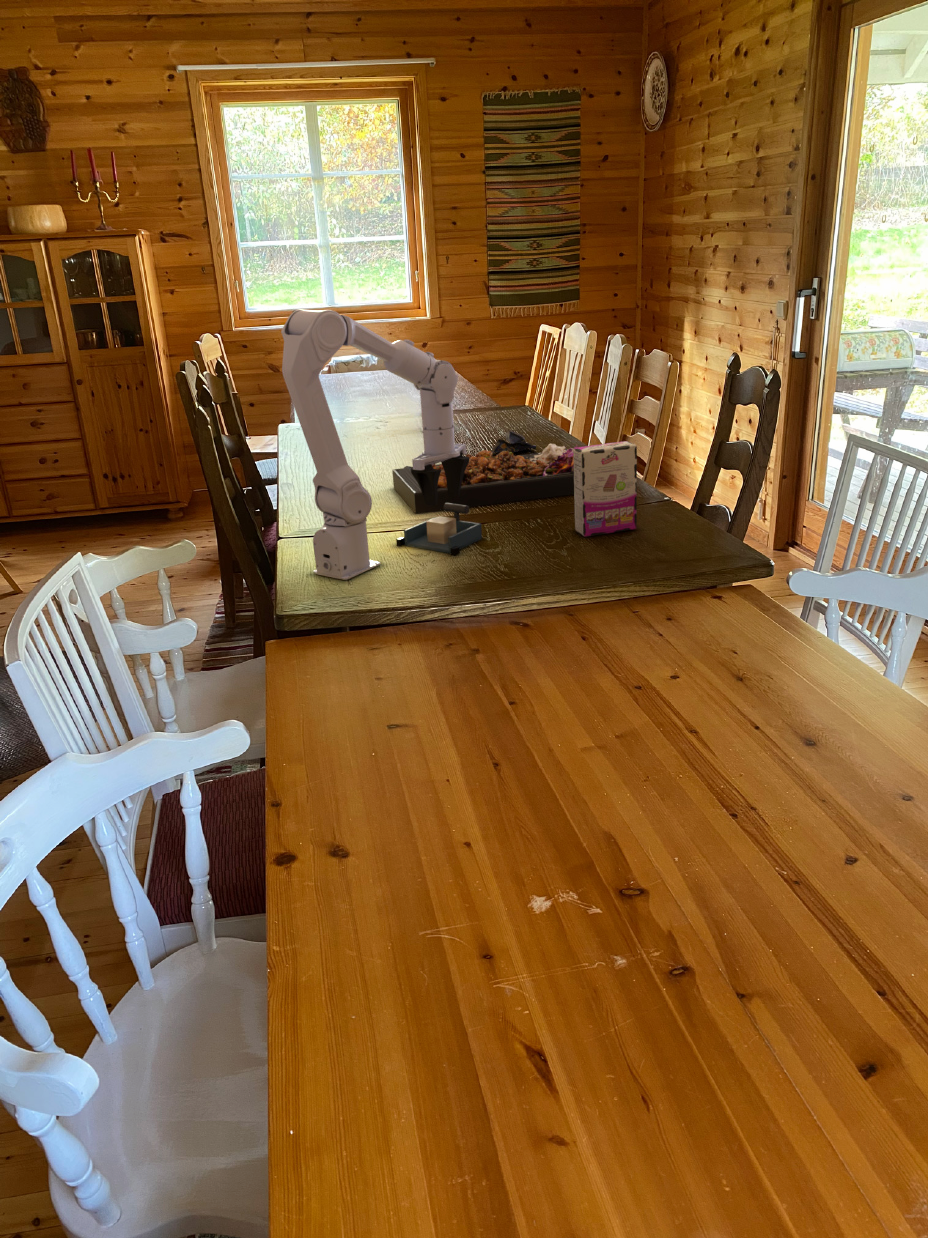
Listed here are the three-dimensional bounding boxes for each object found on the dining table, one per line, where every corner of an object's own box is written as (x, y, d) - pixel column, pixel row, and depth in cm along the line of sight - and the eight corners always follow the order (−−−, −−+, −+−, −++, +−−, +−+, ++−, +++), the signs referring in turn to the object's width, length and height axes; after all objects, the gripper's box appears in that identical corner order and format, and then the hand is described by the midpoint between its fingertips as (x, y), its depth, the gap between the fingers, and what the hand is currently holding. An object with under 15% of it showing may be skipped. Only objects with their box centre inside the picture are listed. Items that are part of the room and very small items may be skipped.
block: (444, 544, 172) (443, 523, 170) (427, 541, 174) (426, 521, 172) (456, 538, 175) (455, 518, 173) (440, 535, 177) (438, 515, 175)
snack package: (496, 448, 254) (487, 456, 243) (499, 425, 251) (490, 432, 241) (538, 455, 252) (531, 463, 241) (541, 432, 249) (535, 439, 238)
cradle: (455, 556, 167) (454, 548, 166) (396, 545, 174) (396, 538, 174) (460, 553, 168) (459, 546, 167) (401, 543, 176) (401, 536, 175)
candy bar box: (625, 523, 180) (627, 439, 174) (637, 529, 176) (638, 444, 169) (573, 530, 177) (572, 446, 171) (583, 537, 173) (582, 451, 167)
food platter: (571, 467, 227) (571, 425, 223) (611, 489, 205) (612, 443, 201) (393, 487, 217) (390, 444, 213) (415, 513, 195) (412, 465, 191)
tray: (451, 553, 168) (449, 520, 166) (404, 545, 174) (402, 513, 172) (483, 538, 176) (482, 506, 174) (437, 531, 182) (435, 500, 180)
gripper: (432, 436, 159) (438, 511, 165) (478, 421, 170) (481, 492, 176) (400, 433, 163) (406, 507, 168) (447, 419, 174) (451, 489, 179)
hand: (442, 499), depth 172 cm, fingers open, 7 cm apart
